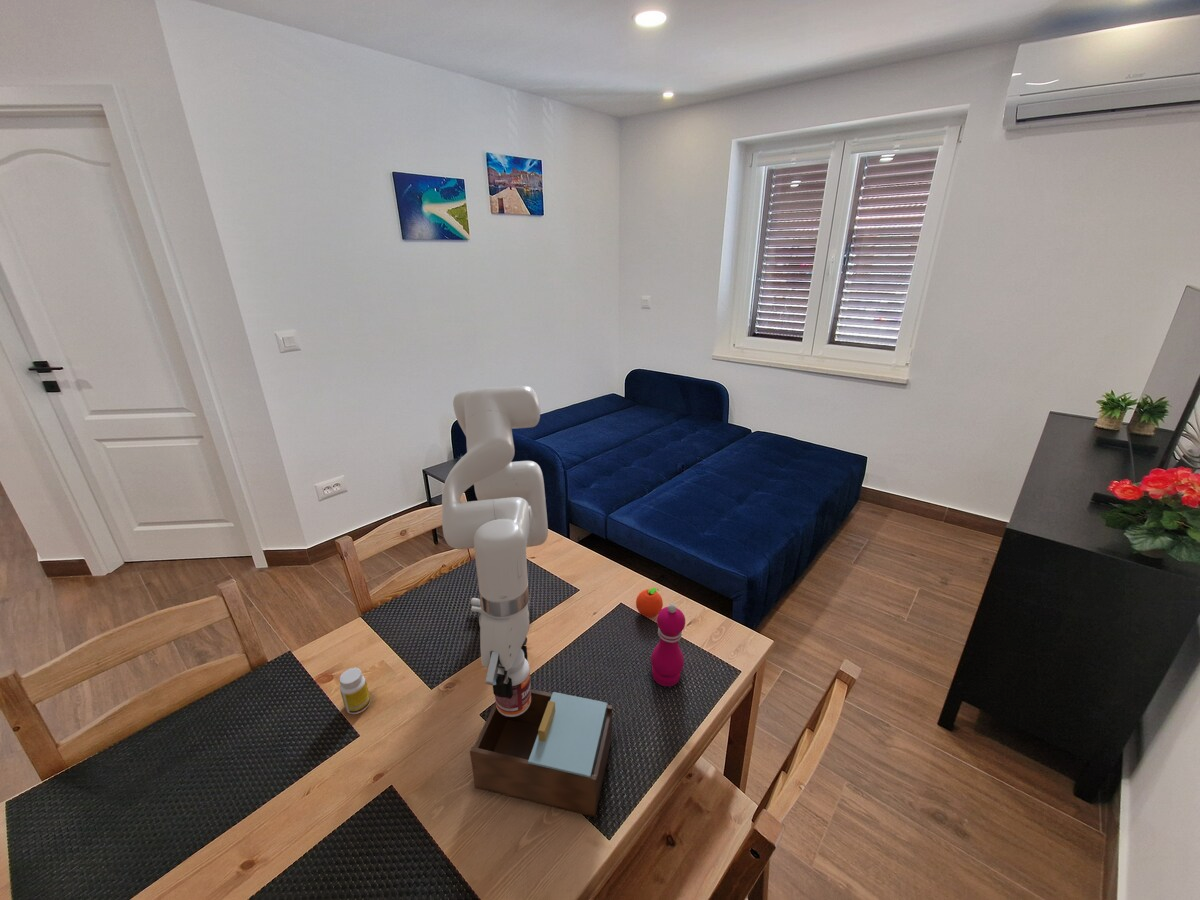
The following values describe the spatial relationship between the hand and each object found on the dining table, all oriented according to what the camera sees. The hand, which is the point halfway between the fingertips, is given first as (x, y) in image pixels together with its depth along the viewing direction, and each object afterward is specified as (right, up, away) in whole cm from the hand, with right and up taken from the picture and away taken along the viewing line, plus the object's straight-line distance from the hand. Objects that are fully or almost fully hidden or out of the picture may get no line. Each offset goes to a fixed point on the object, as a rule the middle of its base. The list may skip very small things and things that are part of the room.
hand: (511, 677), depth 83 cm
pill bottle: (0, -6, +2) cm, 6 cm away
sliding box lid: (+10, -11, +2) cm, 15 cm away
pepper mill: (+30, -12, +26) cm, 41 cm away
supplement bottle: (-35, -14, +18) cm, 42 cm away
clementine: (+28, -4, +44) cm, 52 cm away
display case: (+5, -19, +7) cm, 21 cm away
